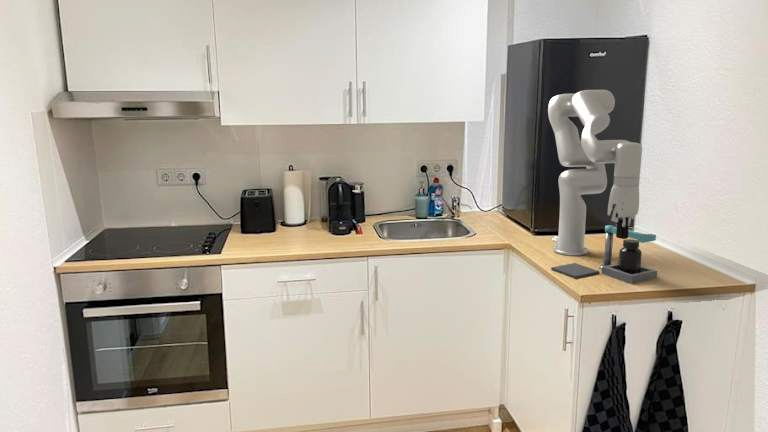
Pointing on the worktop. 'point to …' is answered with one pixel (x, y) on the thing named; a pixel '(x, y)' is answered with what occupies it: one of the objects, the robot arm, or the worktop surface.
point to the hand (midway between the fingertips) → (621, 237)
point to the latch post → (608, 250)
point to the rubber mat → (575, 270)
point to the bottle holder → (629, 278)
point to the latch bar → (633, 234)
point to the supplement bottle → (630, 257)
